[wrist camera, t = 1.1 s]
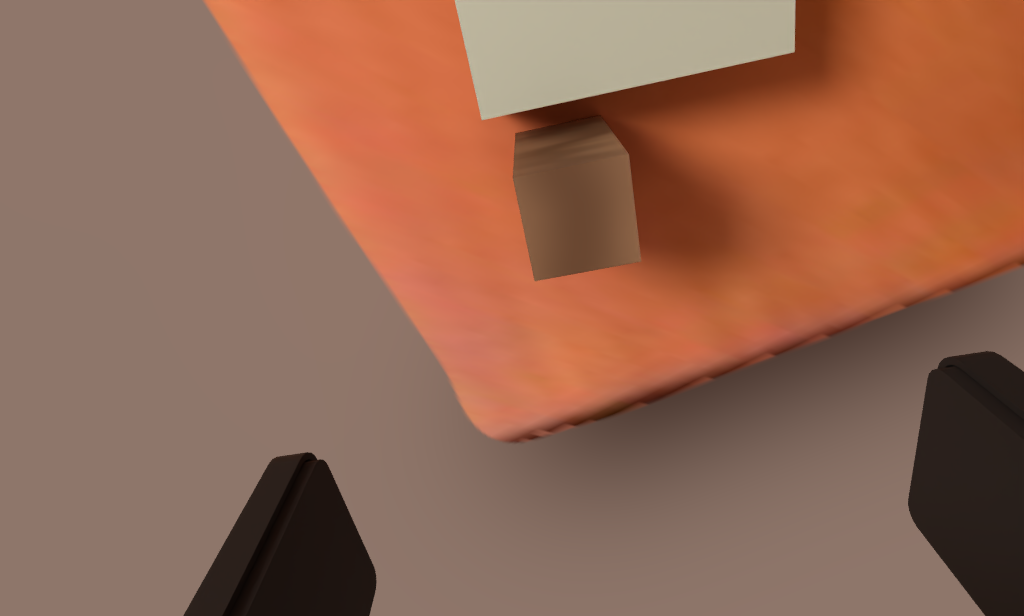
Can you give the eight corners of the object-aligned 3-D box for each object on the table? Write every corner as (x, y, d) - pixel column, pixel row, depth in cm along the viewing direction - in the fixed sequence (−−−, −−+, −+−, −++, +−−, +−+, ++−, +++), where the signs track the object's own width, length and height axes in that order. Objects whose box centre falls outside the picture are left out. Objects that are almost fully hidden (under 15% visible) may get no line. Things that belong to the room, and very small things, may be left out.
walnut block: (600, 115, 26) (628, 154, 19) (611, 198, 28) (641, 261, 21) (515, 133, 27) (512, 177, 20) (531, 213, 29) (534, 281, 21)
